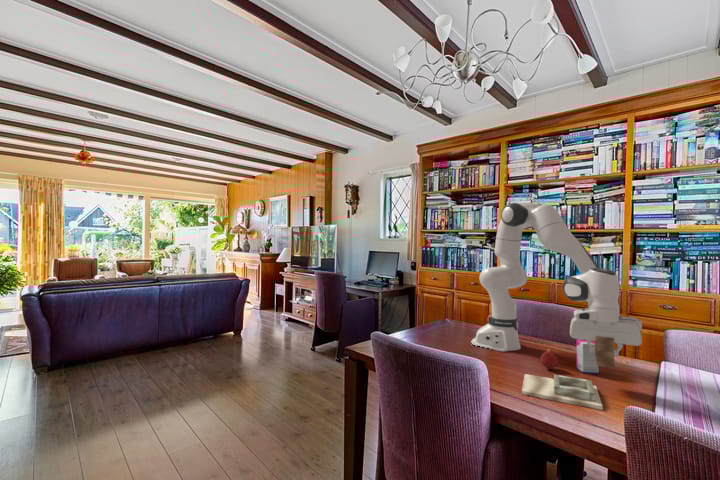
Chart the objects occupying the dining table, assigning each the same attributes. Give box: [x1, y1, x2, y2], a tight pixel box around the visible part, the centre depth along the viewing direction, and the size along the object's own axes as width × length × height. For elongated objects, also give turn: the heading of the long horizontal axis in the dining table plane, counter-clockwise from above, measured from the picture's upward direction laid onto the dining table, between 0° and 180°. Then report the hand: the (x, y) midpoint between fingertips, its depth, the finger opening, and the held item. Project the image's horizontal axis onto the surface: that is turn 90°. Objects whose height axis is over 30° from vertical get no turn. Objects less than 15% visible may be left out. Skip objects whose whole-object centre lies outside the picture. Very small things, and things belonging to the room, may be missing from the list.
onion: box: [540, 348, 559, 370], centre depth 132 cm, size 6×6×8 cm
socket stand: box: [521, 373, 604, 411], centre depth 112 cm, size 22×16×4 cm
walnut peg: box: [593, 337, 615, 369], centre depth 116 cm, size 5×5×10 cm
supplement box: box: [575, 339, 600, 375], centre depth 130 cm, size 6×6×12 cm
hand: (604, 354), depth 116 cm, fingers closed on walnut peg, 5 cm apart
